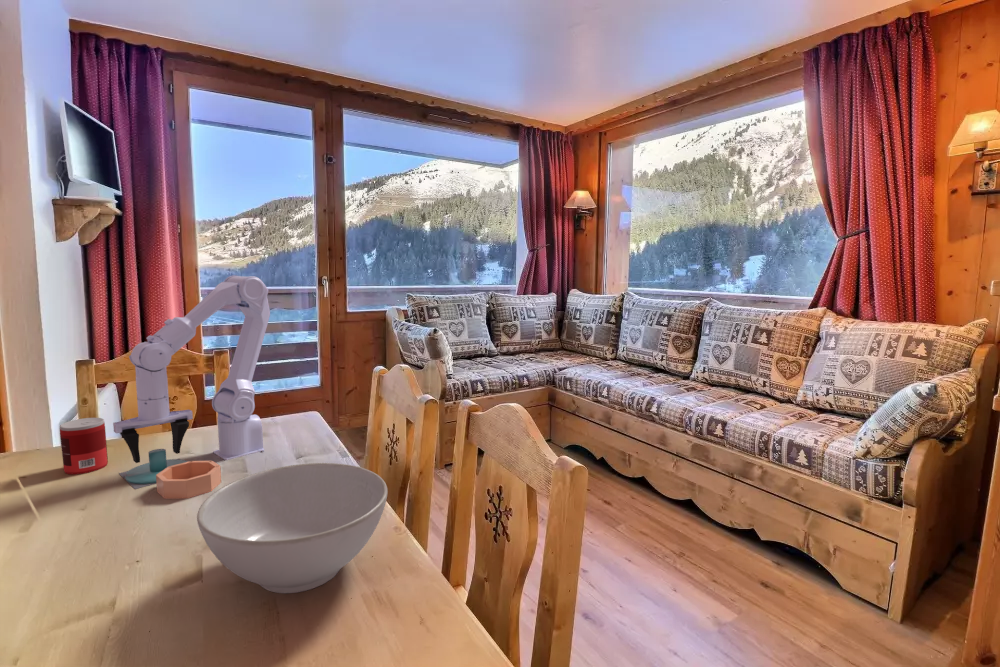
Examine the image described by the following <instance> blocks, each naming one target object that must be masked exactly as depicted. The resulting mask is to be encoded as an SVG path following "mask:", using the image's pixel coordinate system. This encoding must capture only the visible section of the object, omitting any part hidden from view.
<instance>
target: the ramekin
mask: <svg viewBox="0 0 1000 667" xmlns="http://www.w3.org/2000/svg"><path fill="white" fill-rule="evenodd" d="M221 467H222V466H221V465H220V464H218V463H217V462H215V461H213V460H190V461H188V462H185V463H181V464H177V465H173V466H169V467H167V468H166V469H164V470H163V471H161V472H160V473H158V474H157V475H156V482H157V484H156V493H158V494H159V495H160V496H161V497H162V498H163V499H164V500H166V499H167V500H168V499H170V500H171V499H173V500H174V499H175V500H177V499H179V500H180V499H190V498H193V497H197V496H201V495H204V494H208V493H211V492H212V491H213V490H215V489H216V488H218V487H219V485H220V484H221V483H222V470H221Z"/></svg>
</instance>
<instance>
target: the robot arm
mask: <svg viewBox="0 0 1000 667" xmlns="http://www.w3.org/2000/svg"><path fill="white" fill-rule="evenodd" d="M269 292H270V291H269V289H268V287H267V285H266V284H265V283H264V282H263V280H262V279H260V278H259V277H257V276H253V275H251V276H243V275H241V276H240V275H237V274H236V275H234V274H233V275H230V276H227V277H226V278H225V279H224V280H223V281H222V282H220V283H218V284H217V285H216V286H215V287H214V289H213V290H211V291H210V292H209V293H208V294H207V295H206V296H205V297H204V298H203V299H202V300H200V301H199V303H197V305H195V306H194V307H193V308H192V309H191V310H190V311H189V312H188V313H187V314H186V315H184V316H183V317H180V316H179V317H178V316H175V317H173V318H172V319H171V318H168V319H166V320H165V321H164V322H163V323H164V326H162V327H161V328H160V329H159V330H157V331H156V332H155V333H154V334H152V335H148V336H147V337H146V340H147V341H144V342H139V343H138V344H136V345H135V346H134V347H133V349H132V350H131V351H132V352H130V355H128V358H129V360H130V361H129V362H131V364H132V365H133V366H134V368H135V370H134V371H135V386H136V387H135V388H136V398H137V399H136V400H137V414H138V416H136V417H132V418H128V419H125V420H121V421H116V422H113V423H112V425H113V426H112V427H113V433H115V434H120V436H121V437H122V438H123V440H124V441H125V443H126V445H127V447H128V449H129V450H130V453H131V456H132V461H133V462H134V463H135V464H137V463H141V455H140V450H139V448H140V447H139V441H140V434H139V433H138V431H137V430H138V429H143V428H148V427H154V426H158V425H163V424H170V429H171V435H172V452H173V453H175V454H180V453H181V447H182V443H183V439H184V438H185V435H186V432H187V431H188V429H189V427H190V420H193V410H191V409H182V410H174V411H170V401H169V400H170V397H169V382H168V380H169V379H168V374H167V373H168V372H167V371H168V370H167V367H168V366H170V363H171V361H172V356H173V355H175V354H176V353H177V352H178V351H179V350H181V349H182V348H183V347H184V346H186V345H187V344H188V343H189V342H190V341H191V340H192V339H193V338H194V337H196V334H197V327H199V326H200V325H201V324H202V323H204V322H205V321H206V320H208V319H209V318H210V317H212V316H213V315H214V314H216V312H218V311H219V310H221V309H222V308H223V307H224V306H230V305H236V306H237V307H238V308H239V309H240V311H241V312H242V314H243V315H244V319H243V322H242V327H241V330H240V333H239V336H238V340H237V344H236V348H235V352H234V354H233V357H232V358H233V359H232V362H231V365H230V368H229V372H228V376H227V378H226V379H225V380H224V381H222V383H220V386H219V389H218V391H217V392H216V393H215V394H214V395H213V397H212V400H211V406H212V407H211V408H212V409H213V410H214V411H215V413H217V419H216V420H217V432H218V434H217V436H218V448H219V449H216V450H212V453H213V454H215V455H216V456H217V457H220V458H221V459H222V460H224V461H228V460H229V461H230V460H234V459H236V458H240V457H244V456H247V455H253V454H256V453H261V451H262V452H265V451H264V450H266V449H265V448H264V434H263V423H262V420H261V418H260V416H259V415H258V414H253V413H254V411H255V408H256V405H255V394H256V391H255V387H254V385H253V383H252V381H253V378H254V375H255V370H256V367H257V364H258V360H259V357H260V353H261V349H262V345H263V342H264V338H265V334H266V331H267V327H268V324H269V321H270V317H271V310H270V309H271V308H270V305H269V300H268V294H269Z"/></svg>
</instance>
